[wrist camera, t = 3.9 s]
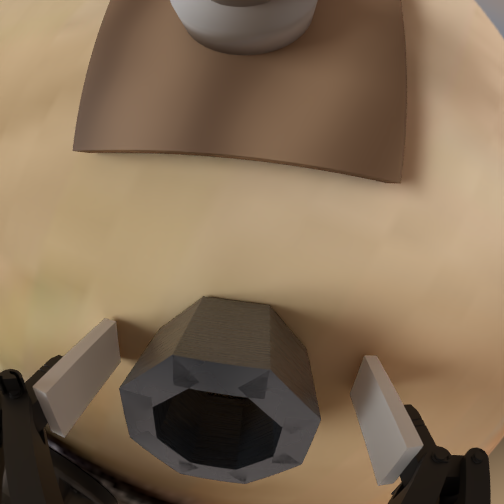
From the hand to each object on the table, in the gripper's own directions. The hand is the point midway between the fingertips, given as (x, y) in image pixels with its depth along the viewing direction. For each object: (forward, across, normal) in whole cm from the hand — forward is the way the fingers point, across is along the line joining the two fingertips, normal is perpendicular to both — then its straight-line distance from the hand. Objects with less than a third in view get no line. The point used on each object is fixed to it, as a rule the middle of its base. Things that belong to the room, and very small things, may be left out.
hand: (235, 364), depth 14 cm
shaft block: (0, -1, +17) cm, 17 cm away
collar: (0, 0, 0) cm, 0 cm away
